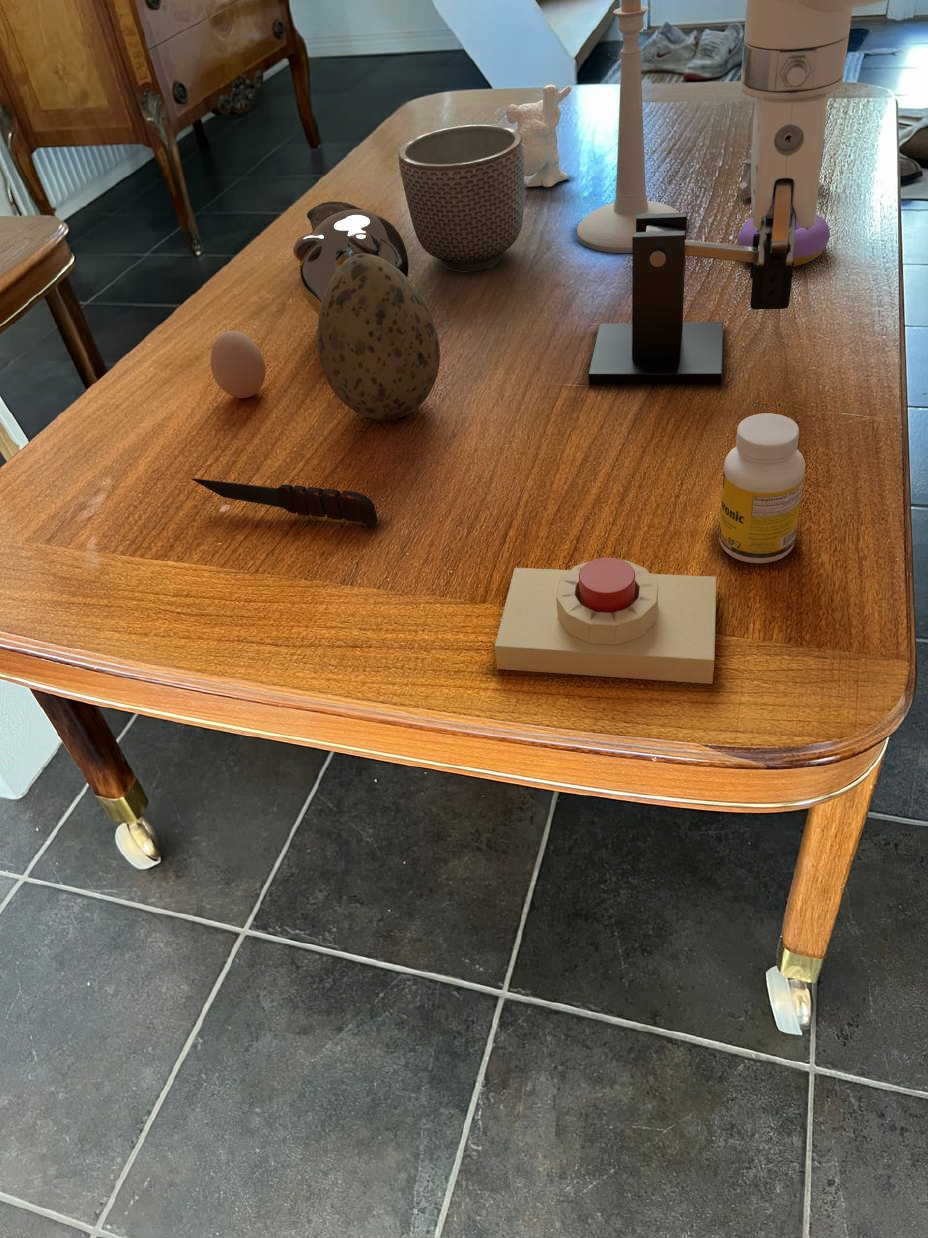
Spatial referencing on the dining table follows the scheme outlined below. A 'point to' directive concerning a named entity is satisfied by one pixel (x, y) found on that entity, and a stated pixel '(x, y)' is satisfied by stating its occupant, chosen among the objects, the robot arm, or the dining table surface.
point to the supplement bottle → (762, 490)
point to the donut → (805, 241)
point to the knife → (301, 500)
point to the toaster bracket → (658, 319)
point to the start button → (607, 584)
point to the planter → (465, 192)
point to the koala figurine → (540, 136)
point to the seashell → (327, 211)
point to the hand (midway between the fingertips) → (768, 290)
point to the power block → (610, 627)
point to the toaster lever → (714, 248)
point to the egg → (237, 364)
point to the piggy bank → (345, 248)
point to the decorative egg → (377, 339)
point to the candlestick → (625, 150)
